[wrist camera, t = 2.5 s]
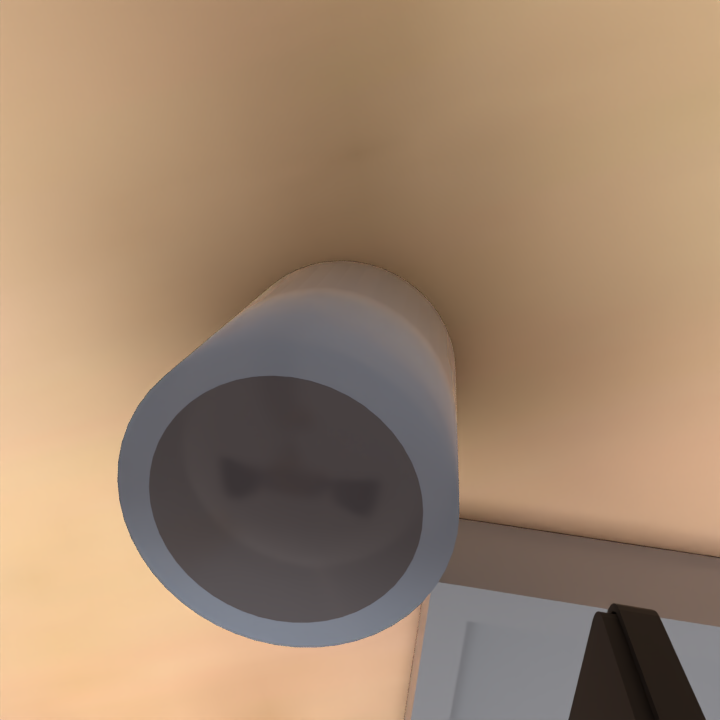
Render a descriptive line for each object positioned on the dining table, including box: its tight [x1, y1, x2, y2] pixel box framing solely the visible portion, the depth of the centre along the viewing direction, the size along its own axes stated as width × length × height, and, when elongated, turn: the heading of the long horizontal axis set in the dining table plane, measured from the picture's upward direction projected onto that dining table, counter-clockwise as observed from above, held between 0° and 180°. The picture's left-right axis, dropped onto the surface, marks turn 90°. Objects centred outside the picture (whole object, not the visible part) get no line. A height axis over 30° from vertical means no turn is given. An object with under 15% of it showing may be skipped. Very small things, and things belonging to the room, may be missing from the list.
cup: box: [118, 261, 459, 647], centre depth 15 cm, size 6×6×7 cm
